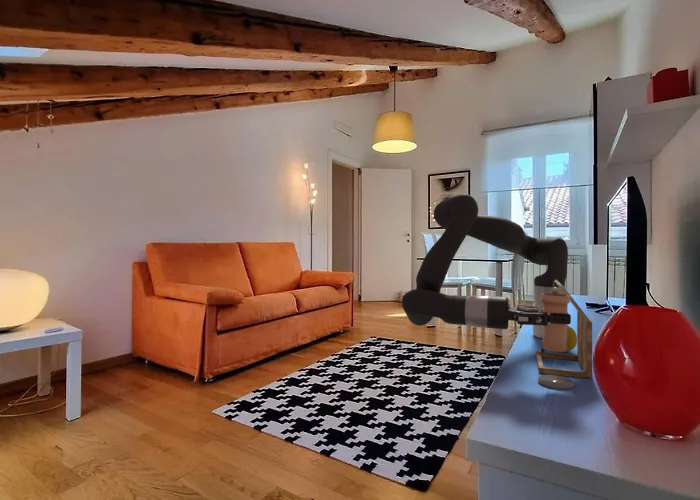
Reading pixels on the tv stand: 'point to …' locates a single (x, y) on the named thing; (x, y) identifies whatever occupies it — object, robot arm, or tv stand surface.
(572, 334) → the lemon
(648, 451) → the tv stand surface
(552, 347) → the pot
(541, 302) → the robot arm
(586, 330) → the cold frame
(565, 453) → the tv stand surface
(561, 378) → the grey-brown flat disc
